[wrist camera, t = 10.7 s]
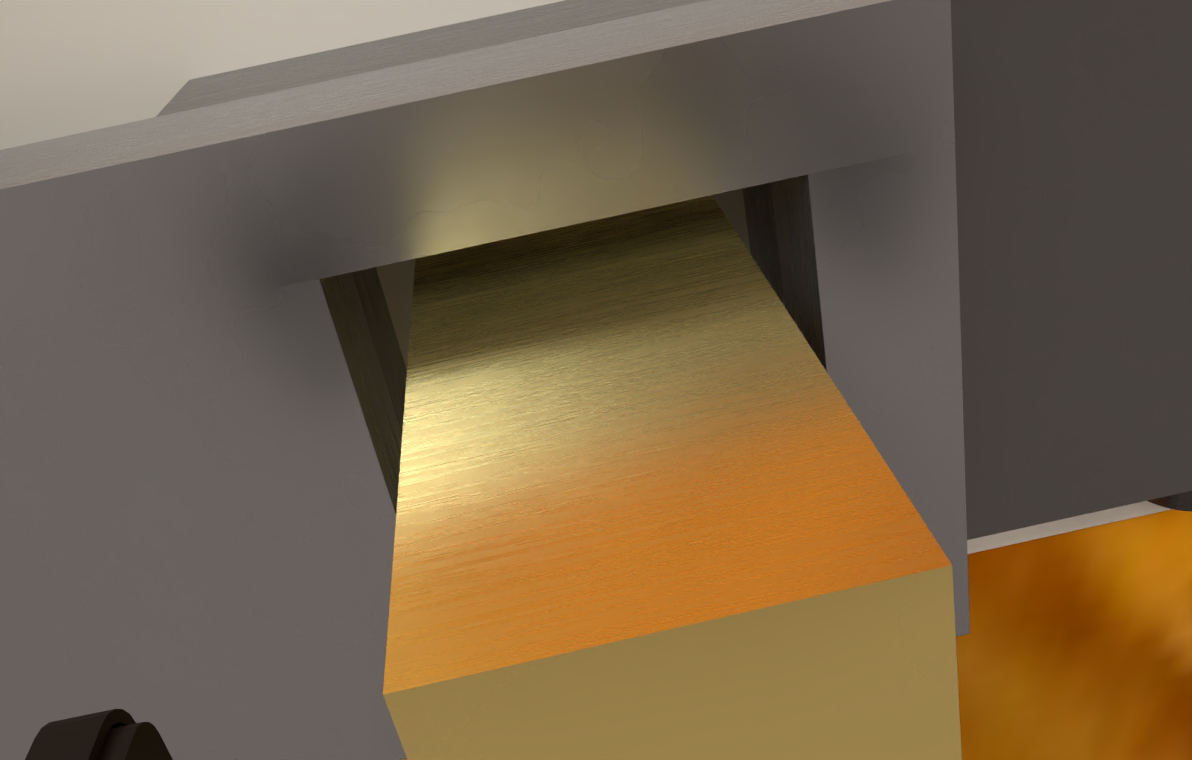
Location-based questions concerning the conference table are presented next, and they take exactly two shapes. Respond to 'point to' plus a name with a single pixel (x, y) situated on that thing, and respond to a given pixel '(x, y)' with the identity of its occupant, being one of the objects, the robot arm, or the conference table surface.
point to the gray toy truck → (529, 205)
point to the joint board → (239, 40)
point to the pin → (649, 518)
